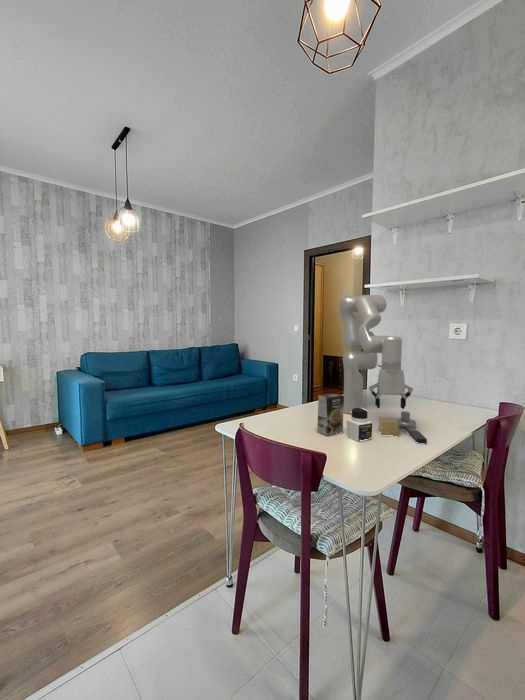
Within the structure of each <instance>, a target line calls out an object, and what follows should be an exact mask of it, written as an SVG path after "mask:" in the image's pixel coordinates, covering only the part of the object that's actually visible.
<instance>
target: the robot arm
mask: <svg viewBox="0 0 525 700" xmlns="http://www.w3.org/2000/svg"><path fill="white" fill-rule="evenodd" d="M386 309H387V301H386V298H385V297H384V296H383V295H381V294H380V295H379V294H363V295H346V296H343V297H342V298H341V299H340V301H339V305H338V310H339V314H340V319H341V321H342V328H343V330H342V331H343V340H344V345H345V347H346V348H348V349H350V351H347V352H345V353H344V354H343V355H342V364H343V365H342V366H343V395H344V409H343V412H345V413H344V414H347V413H350V414H349V415H352V409H354V408H363V397H364V396H363V395H364V394H363V393H364V377H363V375H362V374H361V372H360V370H361V371H362V370H373V369H376V368H377V367H378V368H380V369H379V372H378V378H377V383H374V384H372V385H371V386H368V390H369V391H370V393H371V395H372V396H374V398H375V399H374V400H375V401H374V402H375V403H374V404H375V406H376V408H377V409H380V408H381V398H380V397H381V396H382V395H386V396H387V395H389V396H390V395H391V396H401V398H400V408H401V409H403V410H405V407H406V406H407V404H406V403H407V399H408V398H409V397H410V396H411V394H412V392H413V391H414V388H412V387H411V386H409V385H407V384H406V382H405V372H404V370H402V350H403V349H402V348H403V347H402V345H403V340H402V338H401V337H400V336H391V335H375V333H373V332H372V331H371V329H374V328H375V327H377V326H379V324H380V323H381V321H382V317H381V315H380V314H381V313H384V312H385V311H386ZM354 313H357V314H358V317H359V318H360V320H361V324H360V320H359V318H358V317H357V316H356V314H354ZM351 349H352V350H351ZM353 349H356V350H353ZM358 349H359V350H358ZM362 350H363V351H362ZM378 354H381V362H380V363H378V360H379V359H378ZM374 389H377V391H376V392H375V390H374ZM406 389H407V391H406Z"/></svg>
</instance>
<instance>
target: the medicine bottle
mask: <svg viewBox="0 0 525 700" xmlns="http://www.w3.org/2000/svg"><path fill="white" fill-rule="evenodd" d="M368 412H369V411H368V410H367V409H366V408H363V407H362V408H354V409H352V414H351V419H346V433H345V434H346V435H347V436H349V437H351V438H353V439H356V440H358V441H360V440H364V439H369V438H372V439H373V436H372V435H373V422H372V421H370V420H369V419H368V416H369V413H368ZM347 436H346V437H347ZM351 438H350V439H351ZM353 439H352V440H353Z"/></svg>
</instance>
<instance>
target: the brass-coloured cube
mask: <svg viewBox="0 0 525 700" xmlns="http://www.w3.org/2000/svg"><path fill="white" fill-rule="evenodd" d="M396 419H397V418H396V417H379V418H378V432H379V431H380V432H381V434H382V435H393V436H398V437H399V433H400V432H399V431H400V430H399V429H400V428H399V422H398V421H397V420H396ZM380 432H379V433H380ZM381 434H380V435H381ZM382 435H381V436H382Z"/></svg>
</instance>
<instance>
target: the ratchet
mask: <svg viewBox="0 0 525 700" xmlns="http://www.w3.org/2000/svg"><path fill="white" fill-rule="evenodd" d="M395 419H396V420H397V421H398V422H399V429H401V428H403V429H402V430H404V429H405V430H406V431H407V432H408V433H409V434H408V433H407V432H406V431H405V430H404V431H405V432H406V433H407V434H408V436H409V435H410V436H411V437H412V438H413V439H414V440H415V441H416V442H418V443H428V442H427V441H428V439H427V438H426V437H425V436H424V435H423V434H422V433H421V432H420V431H419V430H417V429H416V428H417V421H416V420H414V419H412V418H411V413H410V412H409V411H404V410H403V411H400V417H399V418H398V417H397V418H395ZM410 436H409V437H410ZM411 437H410V438H411ZM412 438H411V439H412ZM413 439H412V440H413ZM414 440H413V441H414ZM415 441H414V442H415ZM416 442H415V443H416Z"/></svg>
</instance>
